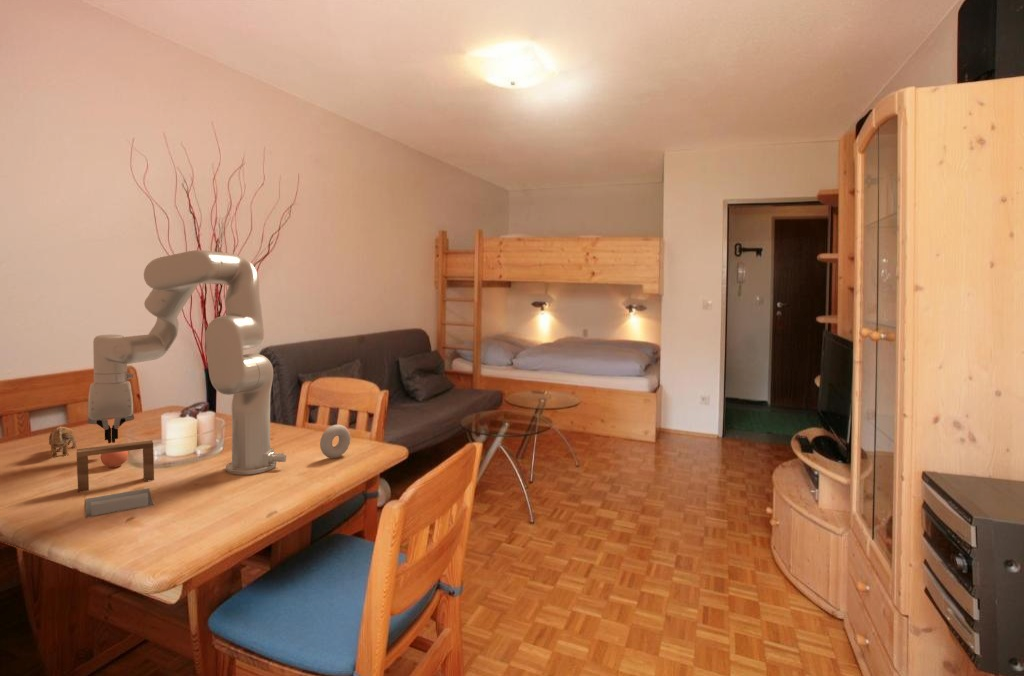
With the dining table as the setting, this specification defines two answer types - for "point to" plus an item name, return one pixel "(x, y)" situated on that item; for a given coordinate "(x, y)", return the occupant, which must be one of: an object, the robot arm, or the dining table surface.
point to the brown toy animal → (61, 440)
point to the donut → (328, 438)
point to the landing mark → (95, 499)
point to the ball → (114, 458)
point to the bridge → (85, 452)
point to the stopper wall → (119, 504)
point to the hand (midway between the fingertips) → (111, 441)
